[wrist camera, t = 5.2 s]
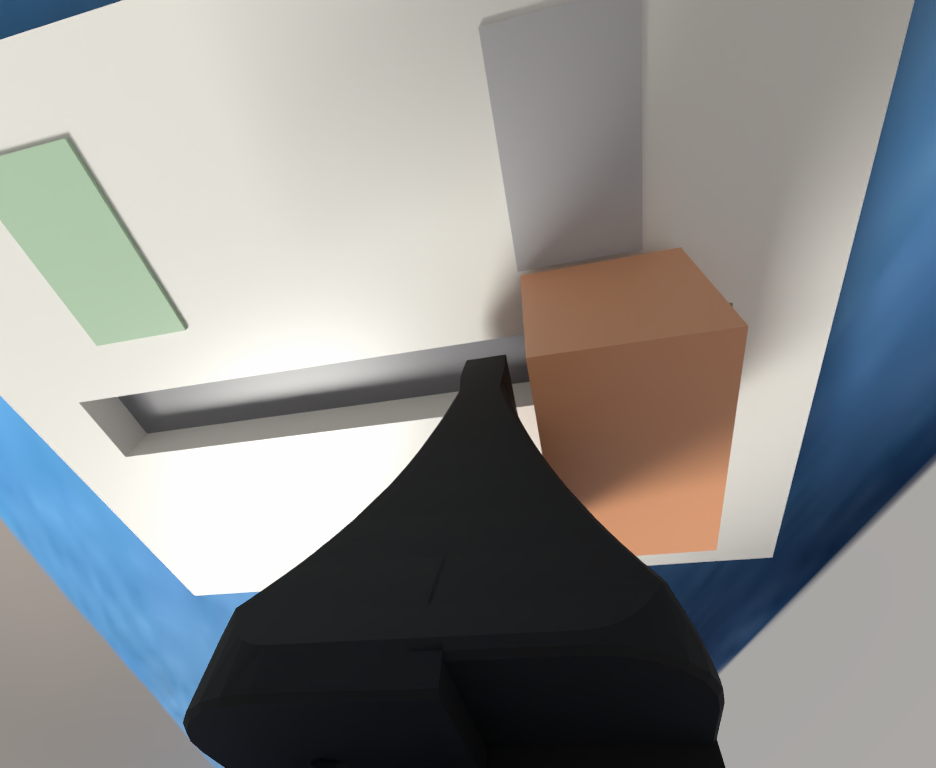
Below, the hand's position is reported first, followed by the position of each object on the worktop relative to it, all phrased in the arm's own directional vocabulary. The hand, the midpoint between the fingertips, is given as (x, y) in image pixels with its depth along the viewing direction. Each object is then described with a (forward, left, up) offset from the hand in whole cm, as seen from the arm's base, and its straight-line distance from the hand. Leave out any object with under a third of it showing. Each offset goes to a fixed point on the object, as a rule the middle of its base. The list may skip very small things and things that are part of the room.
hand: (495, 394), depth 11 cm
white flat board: (0, +3, -3) cm, 4 cm away
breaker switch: (0, -2, -1) cm, 3 cm away
